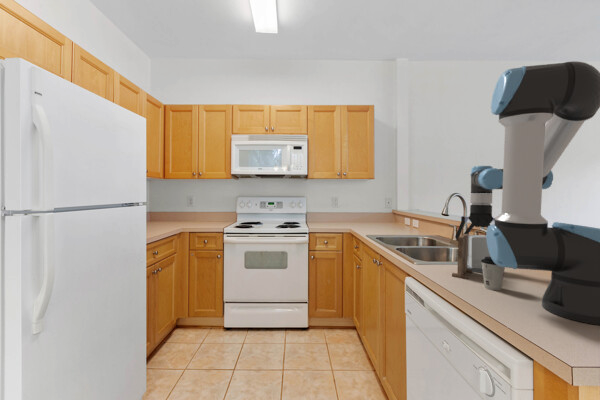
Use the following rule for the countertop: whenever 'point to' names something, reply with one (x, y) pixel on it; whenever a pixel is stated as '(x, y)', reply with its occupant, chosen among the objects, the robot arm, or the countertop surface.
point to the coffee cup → (492, 274)
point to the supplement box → (477, 250)
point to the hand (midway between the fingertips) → (479, 258)
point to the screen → (462, 257)
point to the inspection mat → (475, 269)
